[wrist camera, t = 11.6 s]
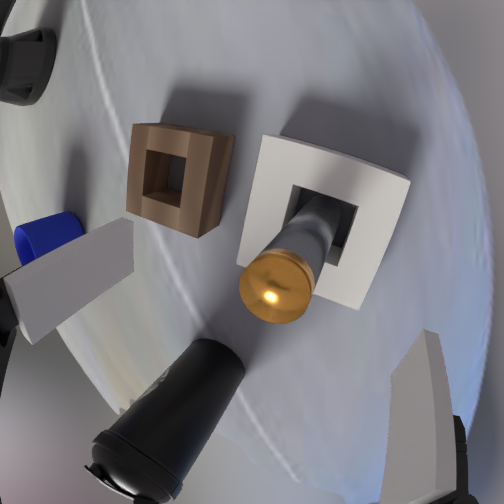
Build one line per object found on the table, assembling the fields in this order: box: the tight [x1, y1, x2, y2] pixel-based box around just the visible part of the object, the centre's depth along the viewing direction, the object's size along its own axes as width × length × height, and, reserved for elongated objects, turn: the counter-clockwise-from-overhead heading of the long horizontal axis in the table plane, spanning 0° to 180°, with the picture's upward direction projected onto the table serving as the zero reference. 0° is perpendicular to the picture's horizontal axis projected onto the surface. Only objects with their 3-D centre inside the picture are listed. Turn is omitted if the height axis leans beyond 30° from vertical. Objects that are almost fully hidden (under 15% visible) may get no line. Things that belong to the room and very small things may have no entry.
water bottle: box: [84, 339, 244, 504], centre depth 27 cm, size 10×10×23 cm
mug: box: [14, 212, 84, 266], centre depth 36 cm, size 8×12×10 cm
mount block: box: [126, 123, 235, 238], centre depth 26 cm, size 9×9×4 cm
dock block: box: [236, 135, 411, 310], centre depth 23 cm, size 11×11×4 cm
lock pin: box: [239, 195, 341, 324], centre depth 18 cm, size 3×3×14 cm
